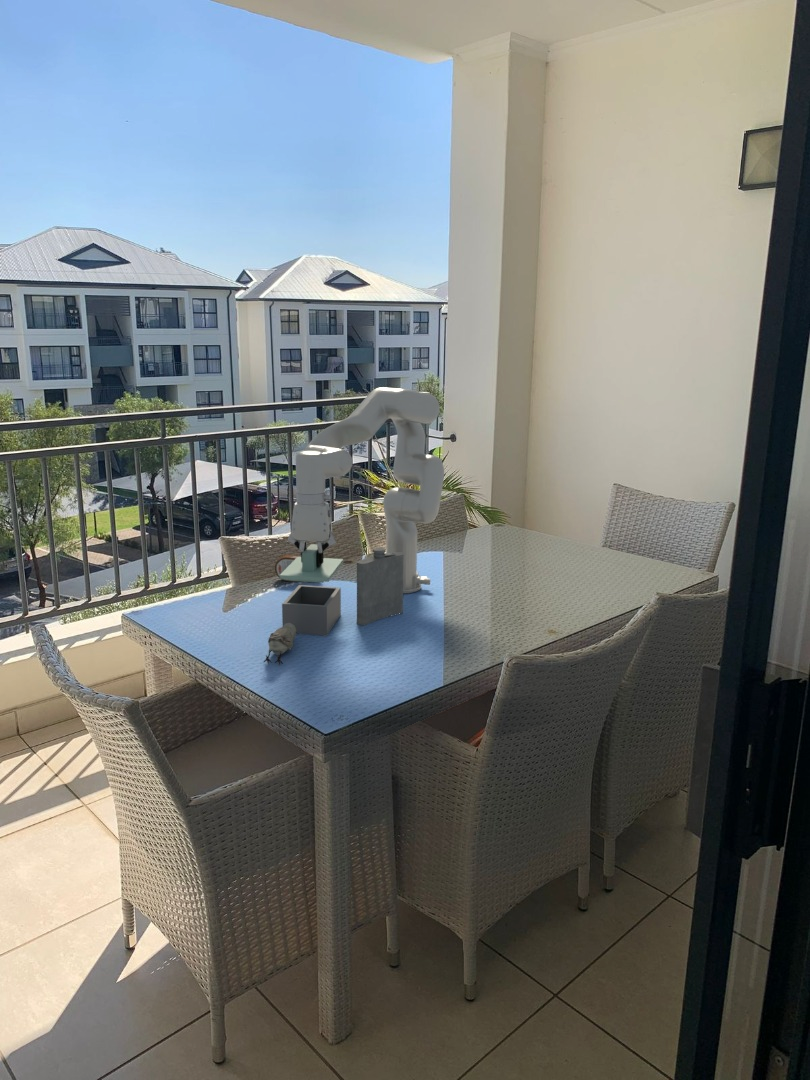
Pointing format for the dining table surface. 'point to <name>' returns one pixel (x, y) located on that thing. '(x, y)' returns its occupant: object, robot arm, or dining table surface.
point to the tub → (312, 609)
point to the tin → (284, 564)
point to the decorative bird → (281, 640)
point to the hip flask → (379, 586)
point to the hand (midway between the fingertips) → (312, 564)
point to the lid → (311, 567)
